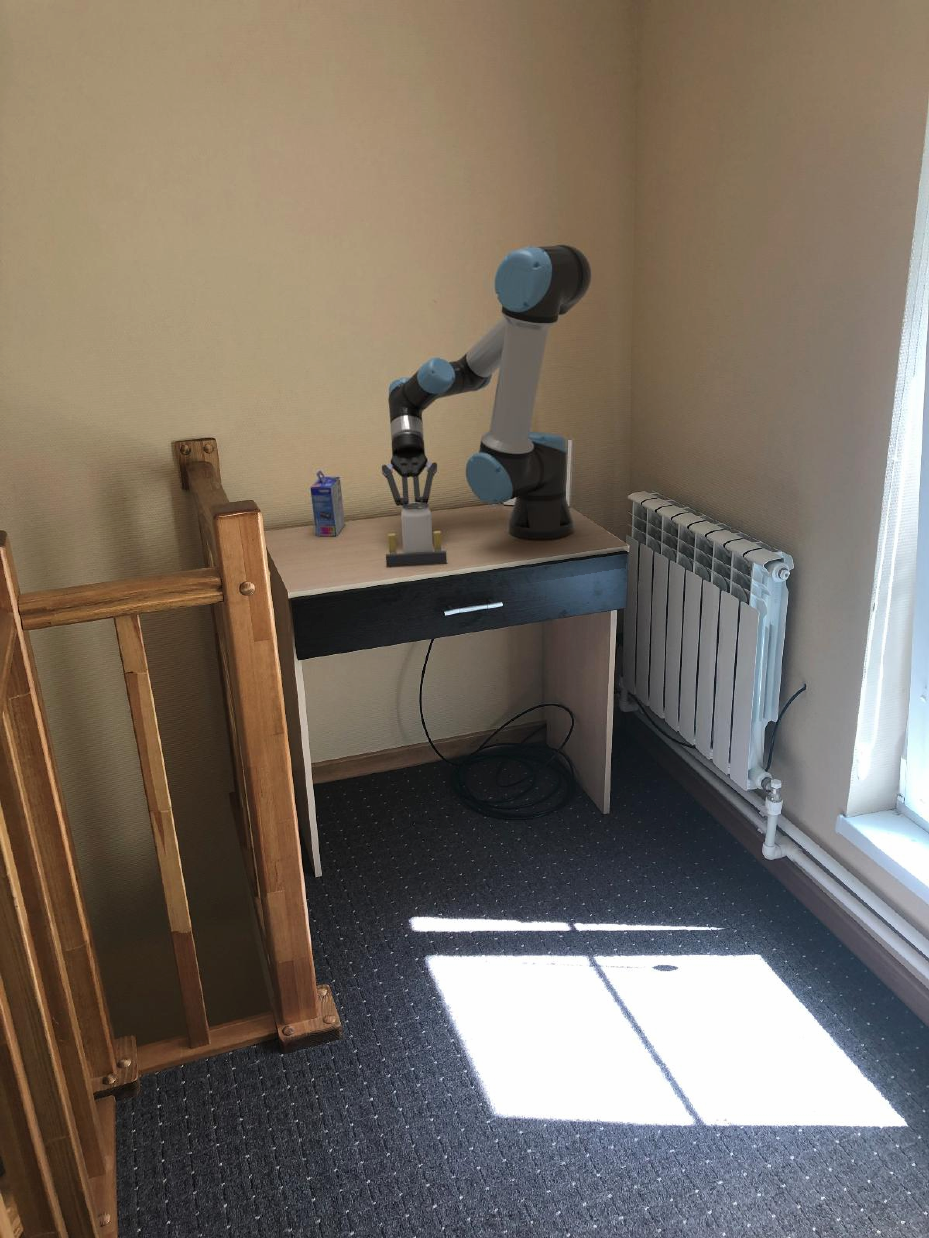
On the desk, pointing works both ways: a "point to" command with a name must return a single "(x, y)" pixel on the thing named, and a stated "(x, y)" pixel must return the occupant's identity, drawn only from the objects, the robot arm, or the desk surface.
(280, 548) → the desk surface
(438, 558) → the u-shaped rail frame
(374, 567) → the desk surface
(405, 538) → the can
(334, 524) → the ink cartridge box
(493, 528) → the desk surface
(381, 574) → the desk surface
